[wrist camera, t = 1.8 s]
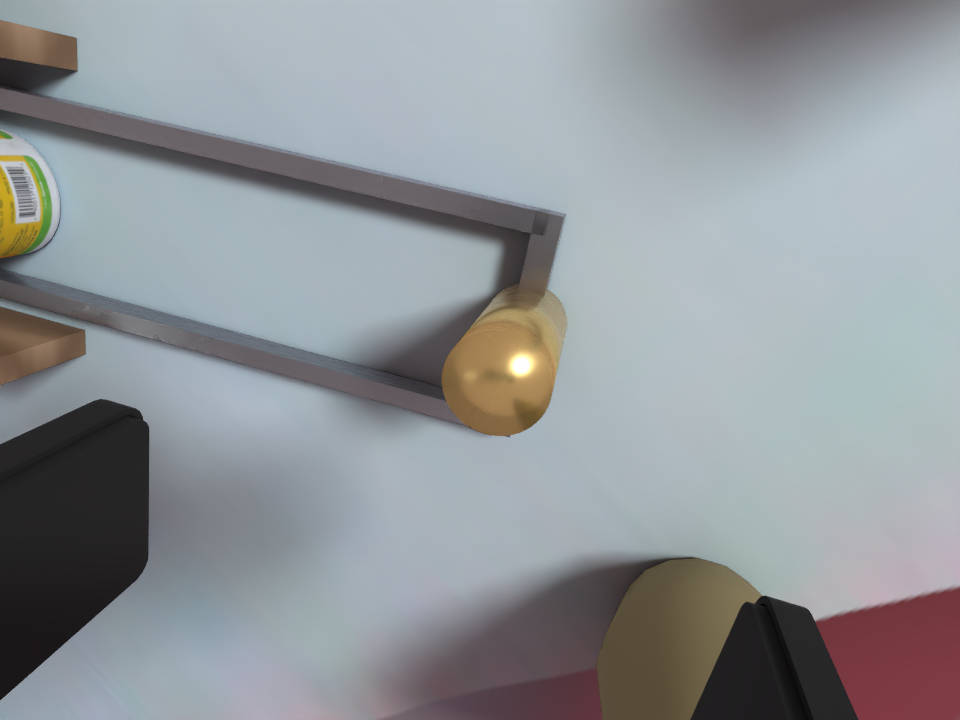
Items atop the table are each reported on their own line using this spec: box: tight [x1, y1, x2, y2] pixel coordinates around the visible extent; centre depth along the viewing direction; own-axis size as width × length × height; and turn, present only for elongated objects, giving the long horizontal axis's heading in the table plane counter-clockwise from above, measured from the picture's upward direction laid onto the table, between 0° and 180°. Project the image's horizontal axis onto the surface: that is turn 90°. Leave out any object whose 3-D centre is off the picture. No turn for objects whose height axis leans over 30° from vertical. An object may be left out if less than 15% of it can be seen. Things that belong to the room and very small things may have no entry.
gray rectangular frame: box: [0, 85, 567, 437], centre depth 22 cm, size 9×30×7 cm, turn 78°
